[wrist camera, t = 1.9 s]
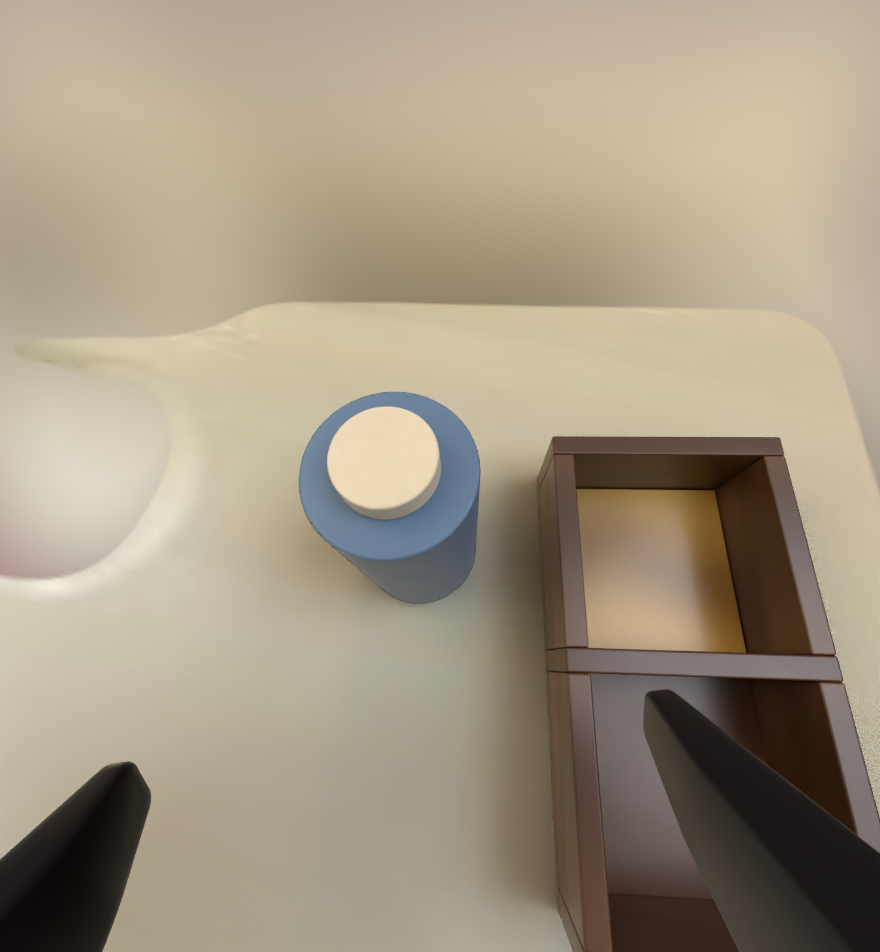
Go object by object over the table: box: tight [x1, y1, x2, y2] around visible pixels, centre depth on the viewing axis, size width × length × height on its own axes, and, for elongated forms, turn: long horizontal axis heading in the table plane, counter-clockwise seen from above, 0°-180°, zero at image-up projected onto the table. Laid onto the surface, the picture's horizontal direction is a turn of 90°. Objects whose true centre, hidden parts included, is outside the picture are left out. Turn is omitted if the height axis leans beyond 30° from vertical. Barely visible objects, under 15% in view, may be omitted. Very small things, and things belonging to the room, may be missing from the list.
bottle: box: [299, 392, 480, 603], centre depth 17 cm, size 5×5×10 cm
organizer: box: [537, 437, 880, 952], centre depth 18 cm, size 17×9×4 cm, turn 178°
